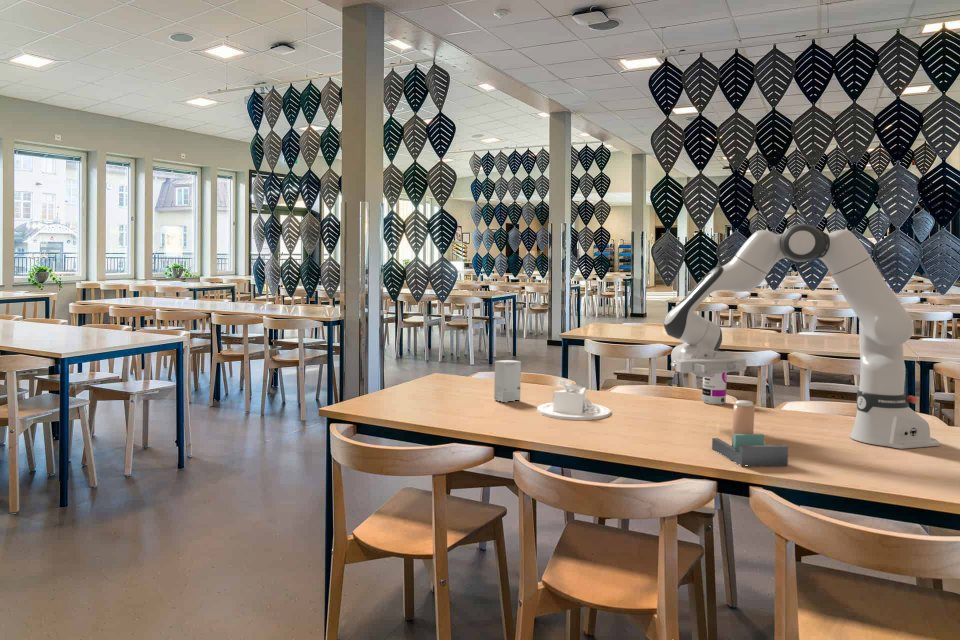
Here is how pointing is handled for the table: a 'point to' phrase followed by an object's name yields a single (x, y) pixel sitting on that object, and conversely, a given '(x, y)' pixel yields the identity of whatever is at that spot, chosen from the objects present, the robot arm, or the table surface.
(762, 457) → the grey open tray
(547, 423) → the table surface
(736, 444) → the block
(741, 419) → the slim pink can
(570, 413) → the dish
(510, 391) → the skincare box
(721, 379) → the supplement can
